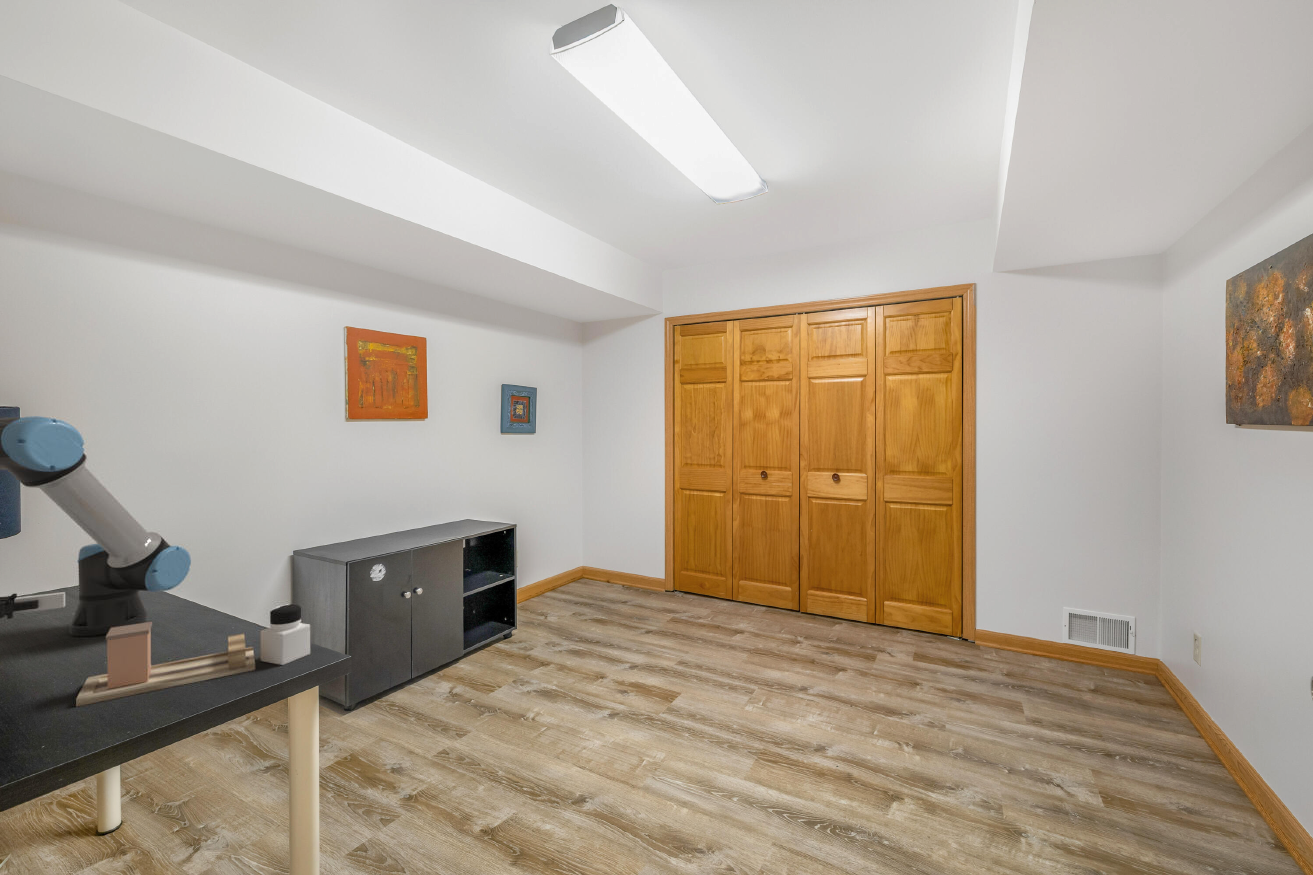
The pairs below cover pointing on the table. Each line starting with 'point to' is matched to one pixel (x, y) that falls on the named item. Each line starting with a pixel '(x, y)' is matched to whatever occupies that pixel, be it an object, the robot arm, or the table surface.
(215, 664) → the rail track
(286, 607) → the medicine bottle
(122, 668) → the pink box with lid
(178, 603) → the table surface
